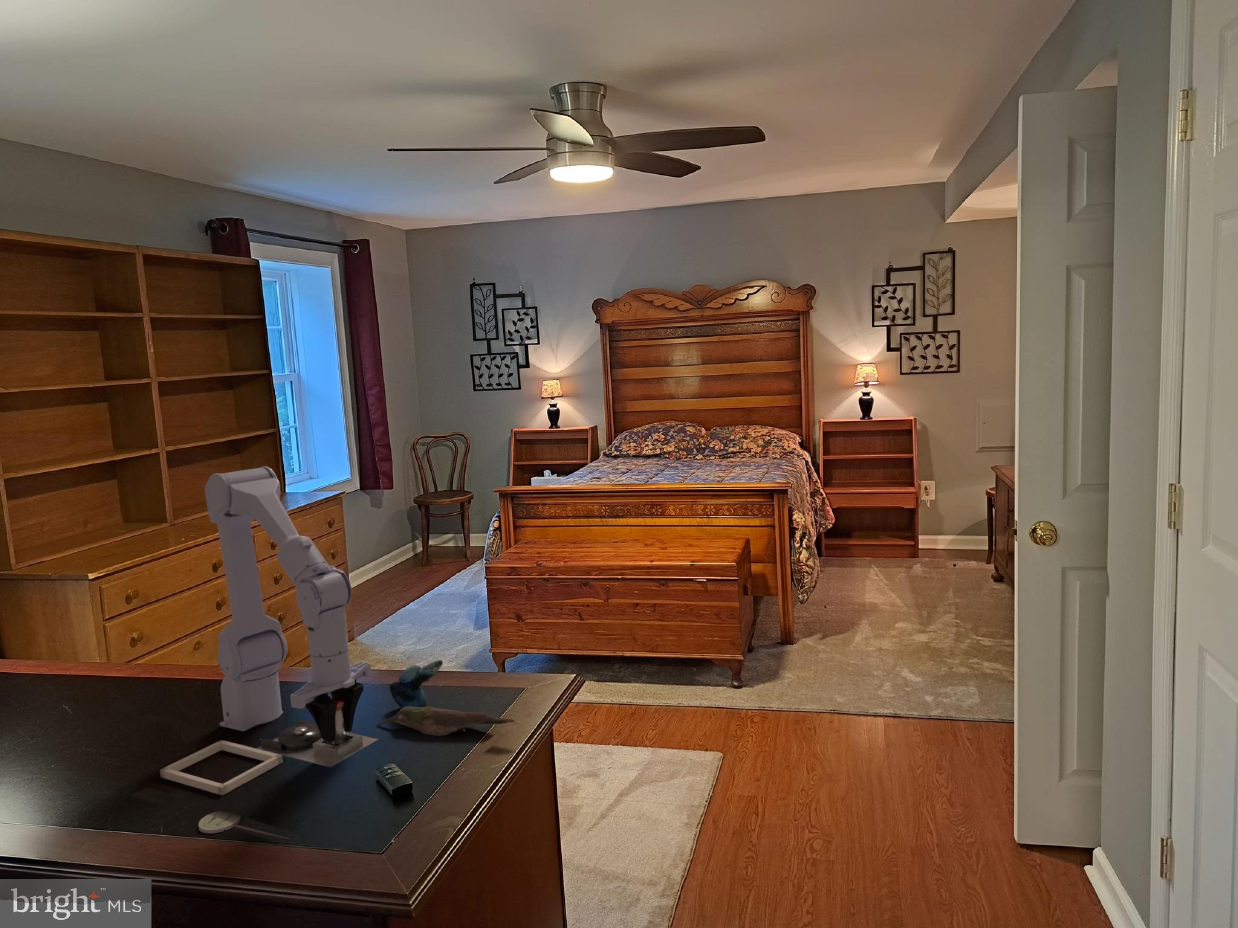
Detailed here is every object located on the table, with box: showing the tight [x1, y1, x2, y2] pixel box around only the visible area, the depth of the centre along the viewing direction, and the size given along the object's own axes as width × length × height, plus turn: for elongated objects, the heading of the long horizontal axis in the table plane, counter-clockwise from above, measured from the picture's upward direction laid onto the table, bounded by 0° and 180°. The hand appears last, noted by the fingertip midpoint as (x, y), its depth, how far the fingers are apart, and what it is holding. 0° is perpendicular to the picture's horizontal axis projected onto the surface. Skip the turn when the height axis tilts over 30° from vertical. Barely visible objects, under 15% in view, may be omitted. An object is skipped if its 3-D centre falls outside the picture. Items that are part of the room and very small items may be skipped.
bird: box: [375, 706, 515, 737], centre depth 141 cm, size 25×5×5 cm, turn 76°
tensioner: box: [255, 719, 379, 768], centre depth 138 cm, size 16×10×3 cm, turn 62°
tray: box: [159, 739, 284, 796], centre depth 131 cm, size 14×11×2 cm
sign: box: [198, 809, 292, 840], centre depth 116 cm, size 5×1×15 cm
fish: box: [389, 659, 444, 709], centre depth 149 cm, size 4×10×10 cm, turn 78°
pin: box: [330, 696, 346, 746], centre depth 135 cm, size 3×3×8 cm
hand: (337, 734), depth 135 cm, fingers closed on pin, 3 cm apart
